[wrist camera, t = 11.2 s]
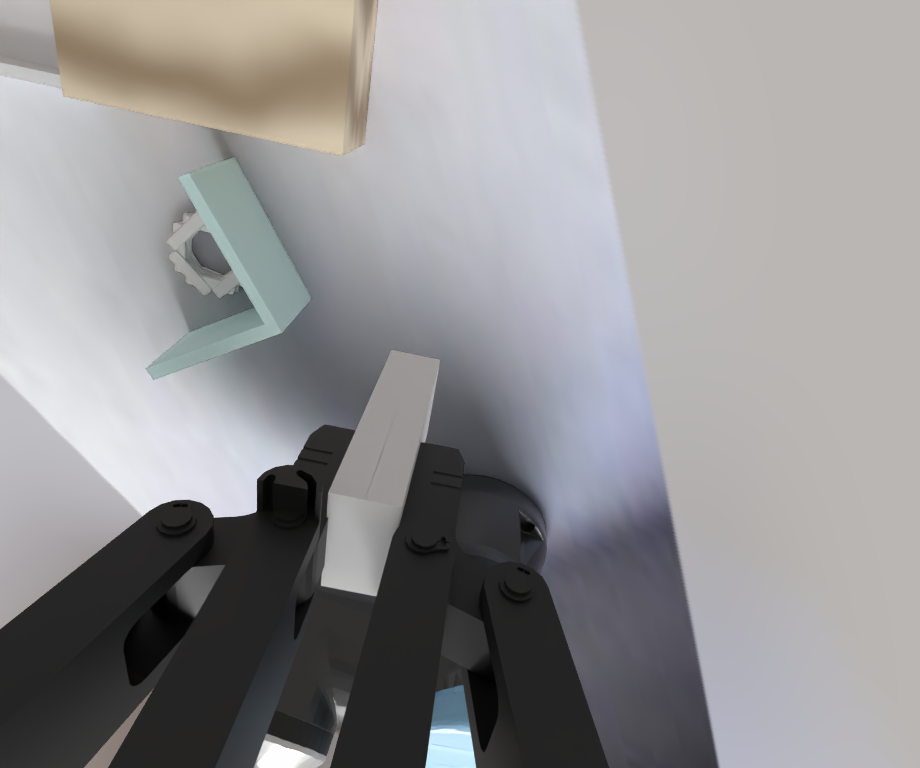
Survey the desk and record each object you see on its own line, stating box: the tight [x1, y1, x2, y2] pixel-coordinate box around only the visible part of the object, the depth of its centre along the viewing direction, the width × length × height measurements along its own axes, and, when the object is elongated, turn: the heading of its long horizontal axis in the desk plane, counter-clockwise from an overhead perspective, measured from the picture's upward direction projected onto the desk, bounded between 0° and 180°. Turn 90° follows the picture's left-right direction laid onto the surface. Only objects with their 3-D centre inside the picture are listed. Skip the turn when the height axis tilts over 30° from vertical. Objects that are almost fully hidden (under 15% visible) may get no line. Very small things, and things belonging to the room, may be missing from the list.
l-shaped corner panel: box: [146, 157, 312, 380], centre depth 45 cm, size 12×12×8 cm
